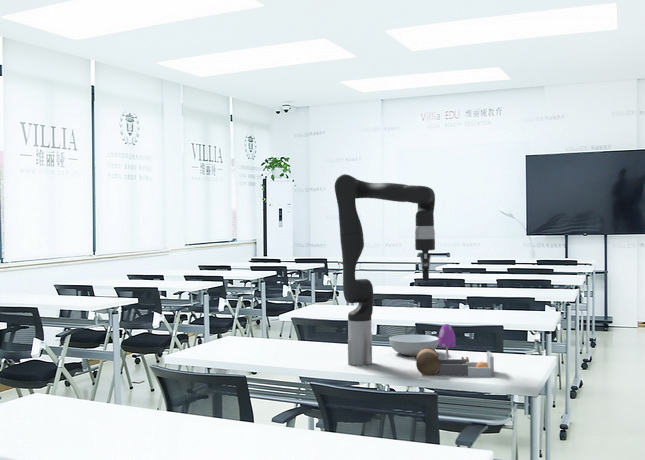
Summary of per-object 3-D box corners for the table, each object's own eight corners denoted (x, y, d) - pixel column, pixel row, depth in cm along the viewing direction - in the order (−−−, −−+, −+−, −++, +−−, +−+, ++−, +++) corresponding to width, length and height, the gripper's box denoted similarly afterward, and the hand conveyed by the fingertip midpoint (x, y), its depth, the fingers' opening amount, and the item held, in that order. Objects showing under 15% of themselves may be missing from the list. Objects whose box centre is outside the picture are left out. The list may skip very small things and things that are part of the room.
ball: (473, 371, 228) (482, 378, 229) (482, 363, 227) (491, 371, 227) (472, 364, 232) (480, 371, 233) (481, 357, 231) (490, 364, 231)
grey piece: (439, 375, 228) (439, 356, 228) (438, 369, 238) (438, 351, 238) (493, 376, 226) (493, 356, 226) (490, 370, 235) (490, 351, 235)
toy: (455, 363, 248) (455, 325, 248) (438, 363, 249) (437, 325, 249) (455, 360, 255) (455, 322, 255) (438, 360, 256) (438, 322, 256)
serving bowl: (446, 352, 273) (446, 336, 273) (427, 360, 255) (426, 343, 255) (402, 348, 284) (402, 332, 284) (380, 356, 266) (380, 339, 266)
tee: (461, 369, 238) (461, 358, 238) (460, 367, 241) (460, 356, 241) (469, 369, 237) (469, 358, 238) (468, 367, 240) (468, 356, 240)
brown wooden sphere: (440, 375, 228) (439, 352, 228) (416, 375, 229) (415, 352, 229) (438, 369, 238) (438, 347, 238) (416, 369, 239) (415, 347, 239)
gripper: (435, 238, 239) (436, 281, 239) (434, 237, 253) (434, 278, 253) (415, 238, 240) (415, 281, 240) (415, 237, 254) (415, 278, 254)
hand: (425, 279), depth 246 cm, fingers open, 8 cm apart
